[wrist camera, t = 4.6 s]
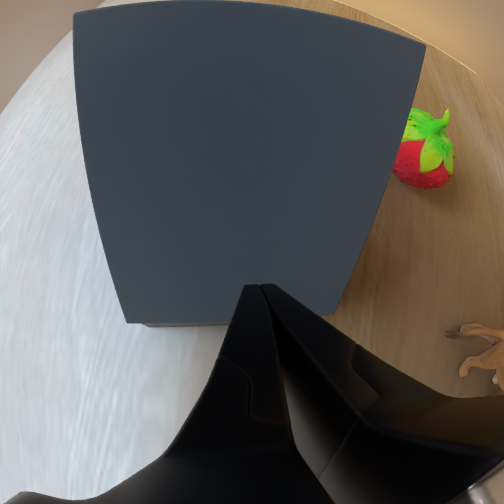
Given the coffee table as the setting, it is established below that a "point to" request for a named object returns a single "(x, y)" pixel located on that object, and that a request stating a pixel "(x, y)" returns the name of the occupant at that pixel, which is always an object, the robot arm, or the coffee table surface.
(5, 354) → the coffee table surface
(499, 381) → the lion figurine
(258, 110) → the lid
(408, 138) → the strawberry
